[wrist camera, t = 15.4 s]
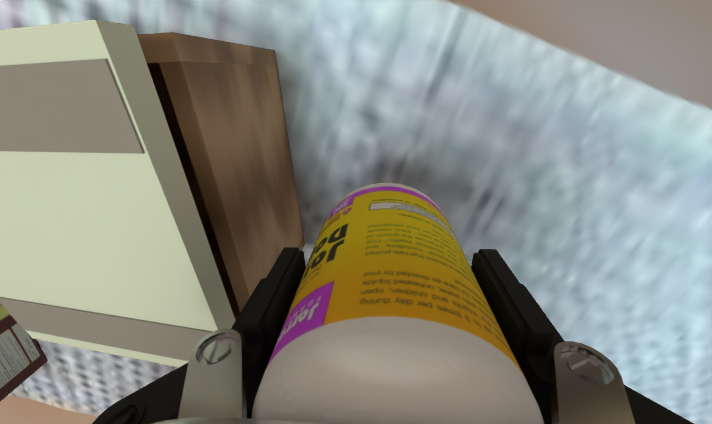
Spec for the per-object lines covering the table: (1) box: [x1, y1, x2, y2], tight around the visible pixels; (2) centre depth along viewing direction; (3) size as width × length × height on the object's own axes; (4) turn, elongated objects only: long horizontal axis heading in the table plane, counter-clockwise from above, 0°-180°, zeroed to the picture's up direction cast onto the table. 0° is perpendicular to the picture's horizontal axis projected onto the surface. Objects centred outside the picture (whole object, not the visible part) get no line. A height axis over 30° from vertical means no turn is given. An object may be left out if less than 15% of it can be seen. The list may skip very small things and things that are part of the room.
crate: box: [137, 32, 304, 321], centre depth 16 cm, size 14×13×9 cm
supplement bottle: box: [251, 183, 544, 424], centre depth 9 cm, size 7×7×13 cm
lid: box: [0, 20, 235, 367], centre depth 11 cm, size 14×13×1 cm
